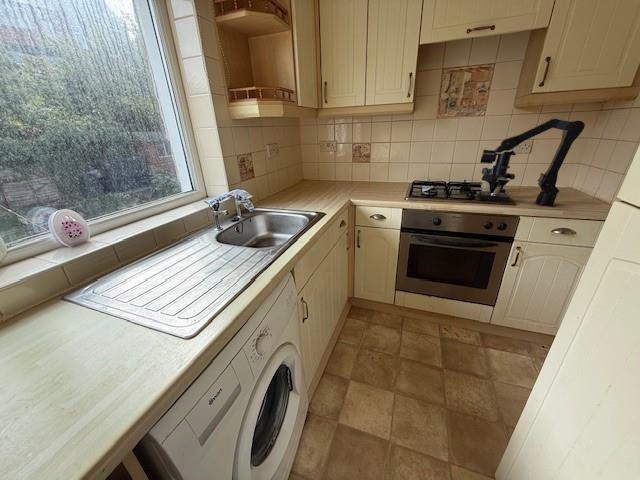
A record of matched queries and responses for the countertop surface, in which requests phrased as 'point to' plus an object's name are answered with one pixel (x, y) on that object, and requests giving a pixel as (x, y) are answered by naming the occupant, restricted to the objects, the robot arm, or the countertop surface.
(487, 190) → the squeeze bottle
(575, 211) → the countertop surface
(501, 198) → the control panel
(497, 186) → the dial
